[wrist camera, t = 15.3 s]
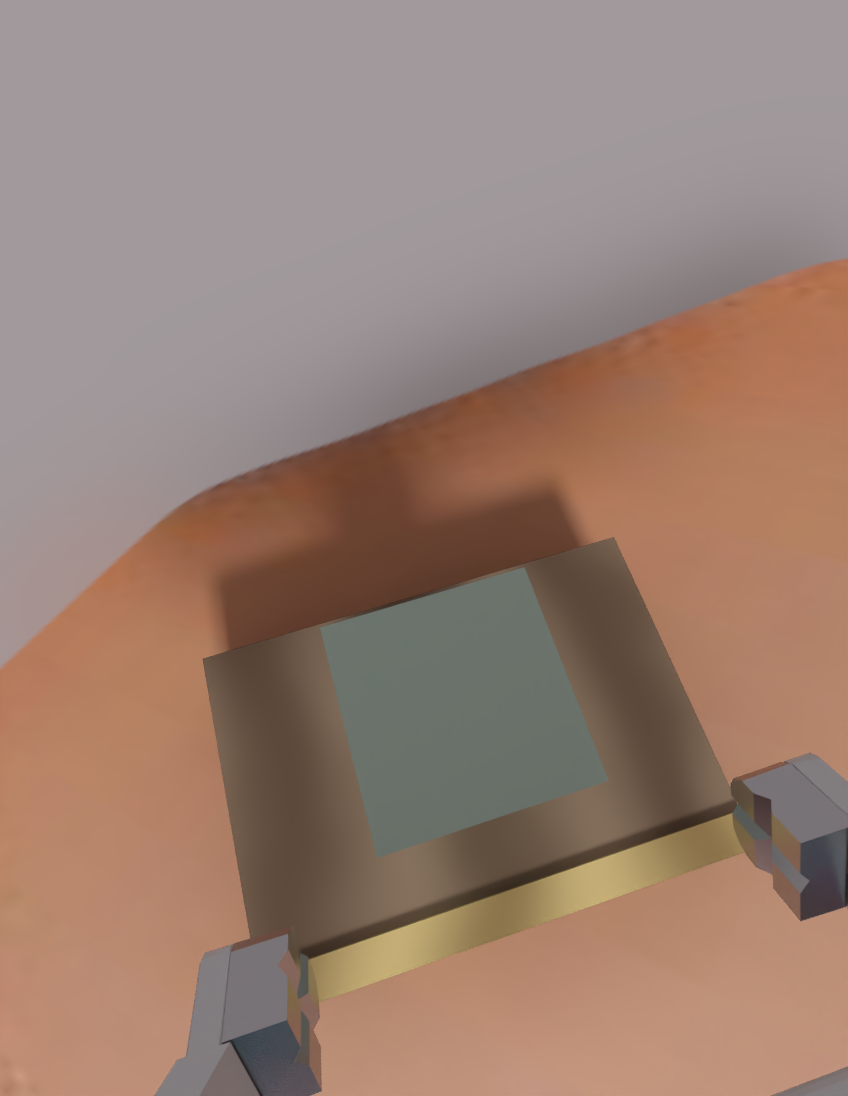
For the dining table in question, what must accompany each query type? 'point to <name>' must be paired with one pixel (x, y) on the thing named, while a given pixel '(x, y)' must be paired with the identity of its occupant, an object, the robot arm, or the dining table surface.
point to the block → (457, 711)
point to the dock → (481, 850)
